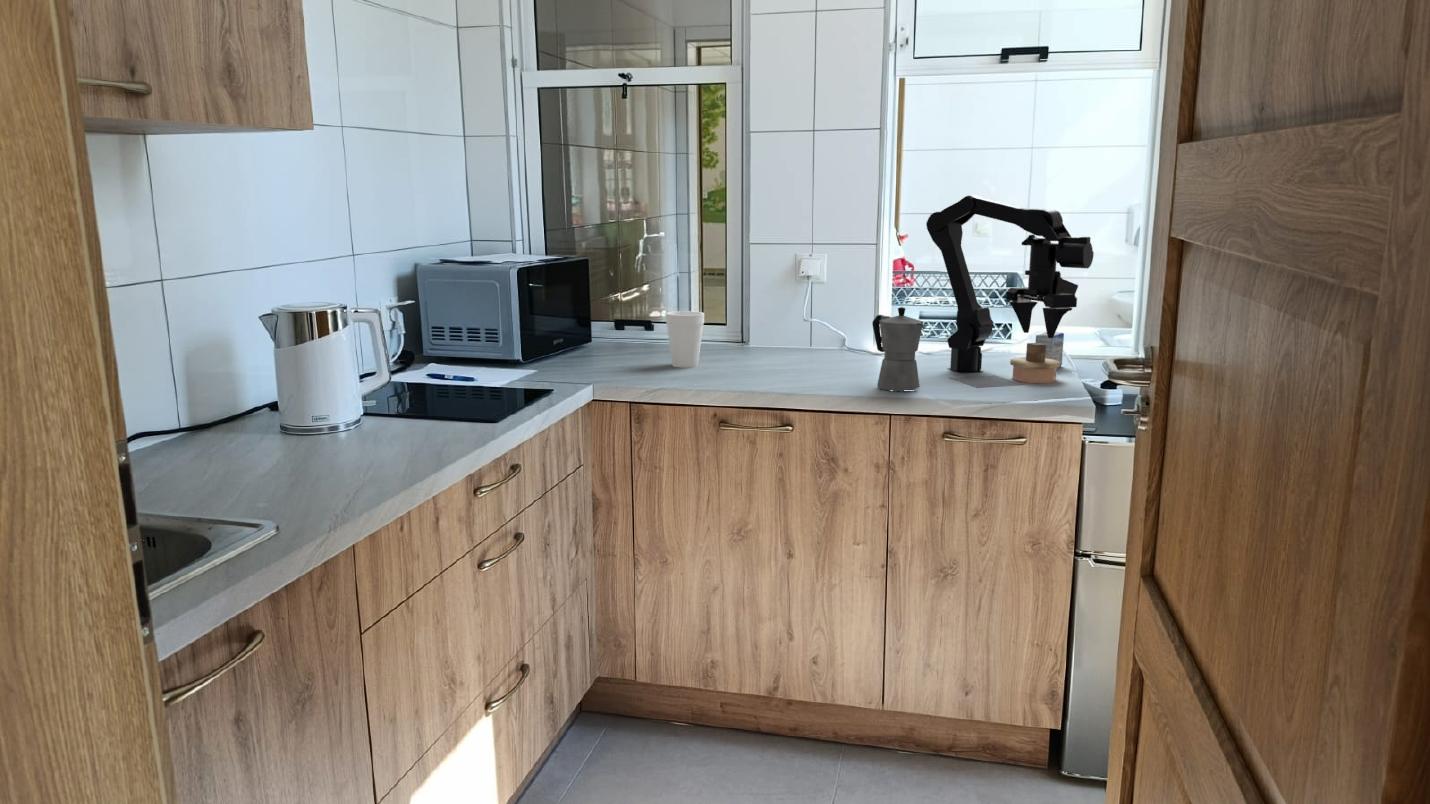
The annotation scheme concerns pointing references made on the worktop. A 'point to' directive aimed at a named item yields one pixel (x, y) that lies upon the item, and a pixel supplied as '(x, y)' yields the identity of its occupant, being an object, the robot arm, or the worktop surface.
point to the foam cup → (685, 337)
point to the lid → (1035, 358)
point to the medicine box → (1052, 345)
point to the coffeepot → (898, 350)
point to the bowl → (1034, 375)
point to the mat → (986, 381)
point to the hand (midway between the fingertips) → (1038, 335)
